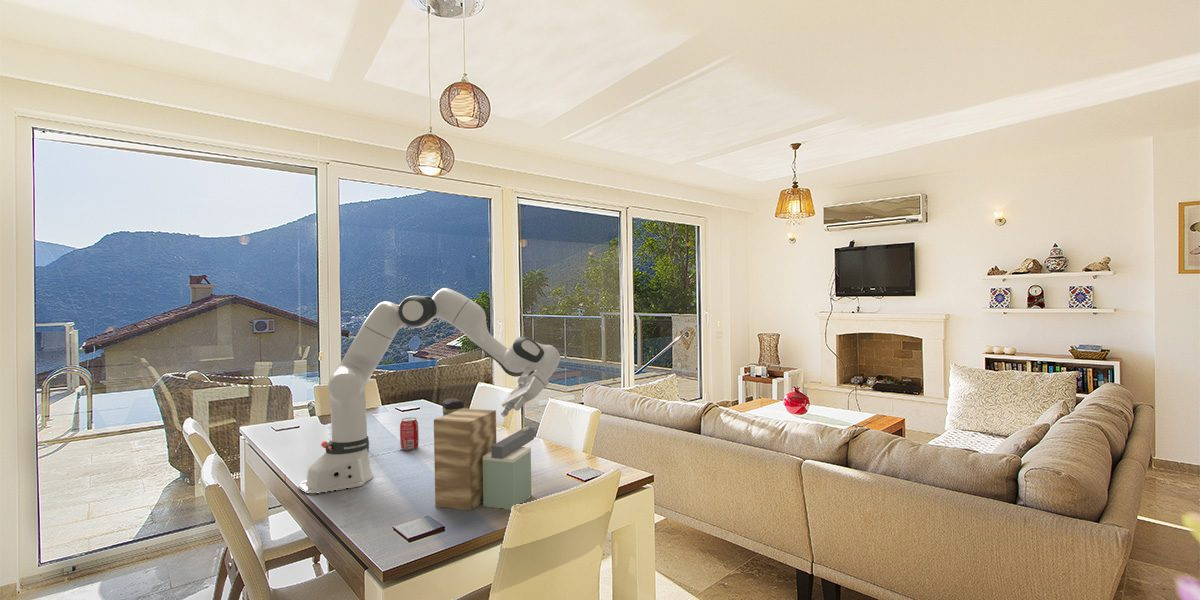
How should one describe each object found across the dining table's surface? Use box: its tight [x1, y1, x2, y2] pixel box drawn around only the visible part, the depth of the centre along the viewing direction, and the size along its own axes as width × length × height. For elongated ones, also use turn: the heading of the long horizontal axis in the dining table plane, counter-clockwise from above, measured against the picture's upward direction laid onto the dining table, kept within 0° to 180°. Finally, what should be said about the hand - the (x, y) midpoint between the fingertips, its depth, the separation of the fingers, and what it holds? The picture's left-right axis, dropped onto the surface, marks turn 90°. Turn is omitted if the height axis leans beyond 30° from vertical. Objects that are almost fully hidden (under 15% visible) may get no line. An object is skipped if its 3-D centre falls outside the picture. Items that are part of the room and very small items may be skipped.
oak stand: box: [433, 407, 497, 511], centre depth 172 cm, size 16×12×26 cm
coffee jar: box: [442, 397, 465, 416], centre depth 234 cm, size 10×8×19 cm
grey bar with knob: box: [491, 426, 535, 459], centre depth 174 cm, size 22×4×4 cm, turn 162°
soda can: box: [399, 417, 420, 451], centre depth 227 cm, size 7×7×12 cm
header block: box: [482, 446, 532, 511], centre depth 170 cm, size 12×10×15 cm
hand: (509, 412), depth 186 cm, fingers open, 8 cm apart
